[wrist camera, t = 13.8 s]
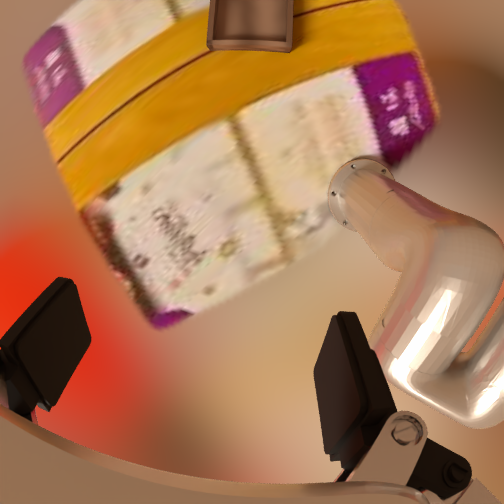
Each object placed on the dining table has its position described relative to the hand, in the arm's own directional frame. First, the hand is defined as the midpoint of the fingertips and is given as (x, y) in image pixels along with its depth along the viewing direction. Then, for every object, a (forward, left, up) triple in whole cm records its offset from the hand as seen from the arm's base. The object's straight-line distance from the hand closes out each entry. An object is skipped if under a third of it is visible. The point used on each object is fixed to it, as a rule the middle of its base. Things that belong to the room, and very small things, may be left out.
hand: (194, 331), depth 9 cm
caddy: (0, -31, -38) cm, 48 cm away
